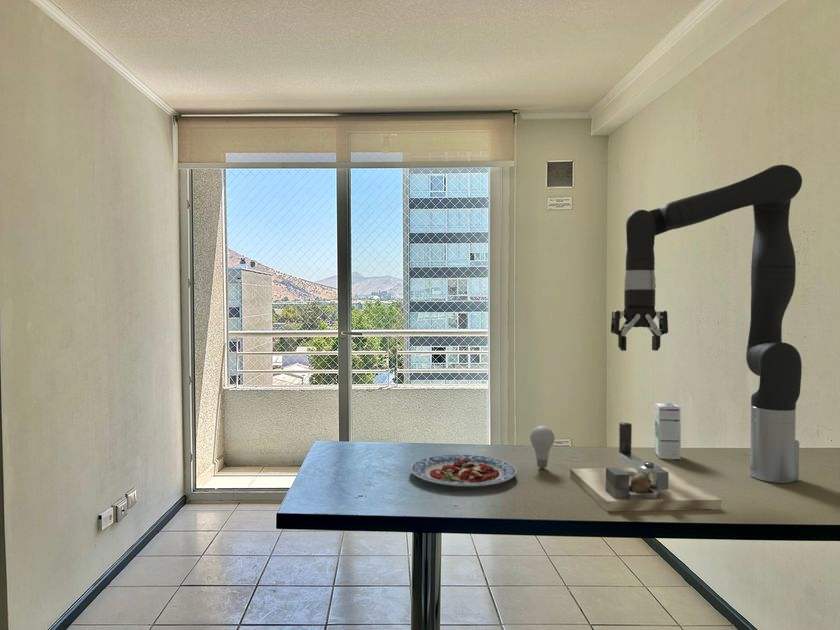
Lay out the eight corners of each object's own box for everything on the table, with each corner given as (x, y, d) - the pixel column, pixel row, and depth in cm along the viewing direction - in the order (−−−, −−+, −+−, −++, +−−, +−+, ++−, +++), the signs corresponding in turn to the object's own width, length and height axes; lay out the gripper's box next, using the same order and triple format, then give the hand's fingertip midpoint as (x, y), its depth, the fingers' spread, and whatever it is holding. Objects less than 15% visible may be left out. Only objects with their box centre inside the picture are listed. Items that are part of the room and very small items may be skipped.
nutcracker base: (665, 475, 139) (666, 447, 139) (721, 509, 116) (721, 475, 116) (570, 476, 138) (570, 448, 137) (606, 511, 115) (607, 477, 114)
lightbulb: (556, 467, 146) (556, 424, 146) (551, 473, 140) (551, 429, 140) (533, 464, 148) (533, 422, 148) (527, 470, 143) (527, 427, 143)
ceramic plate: (458, 457, 156) (458, 446, 156) (537, 477, 138) (537, 465, 138) (388, 476, 138) (388, 464, 138) (468, 503, 120) (468, 489, 120)
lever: (632, 461, 139) (633, 422, 139) (674, 489, 118) (674, 443, 118) (612, 461, 139) (613, 422, 138) (650, 489, 118) (651, 443, 117)
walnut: (642, 494, 121) (645, 475, 122) (652, 497, 117) (655, 478, 118) (625, 490, 121) (628, 471, 121) (635, 493, 117) (638, 474, 118)
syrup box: (681, 460, 153) (682, 406, 153) (658, 458, 154) (658, 405, 154) (676, 454, 159) (676, 403, 158) (653, 453, 160) (654, 402, 160)
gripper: (659, 288, 151) (658, 349, 151) (607, 288, 150) (606, 349, 151) (673, 288, 144) (672, 351, 144) (618, 287, 143) (618, 351, 143)
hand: (639, 350), depth 147 cm, fingers open, 8 cm apart
